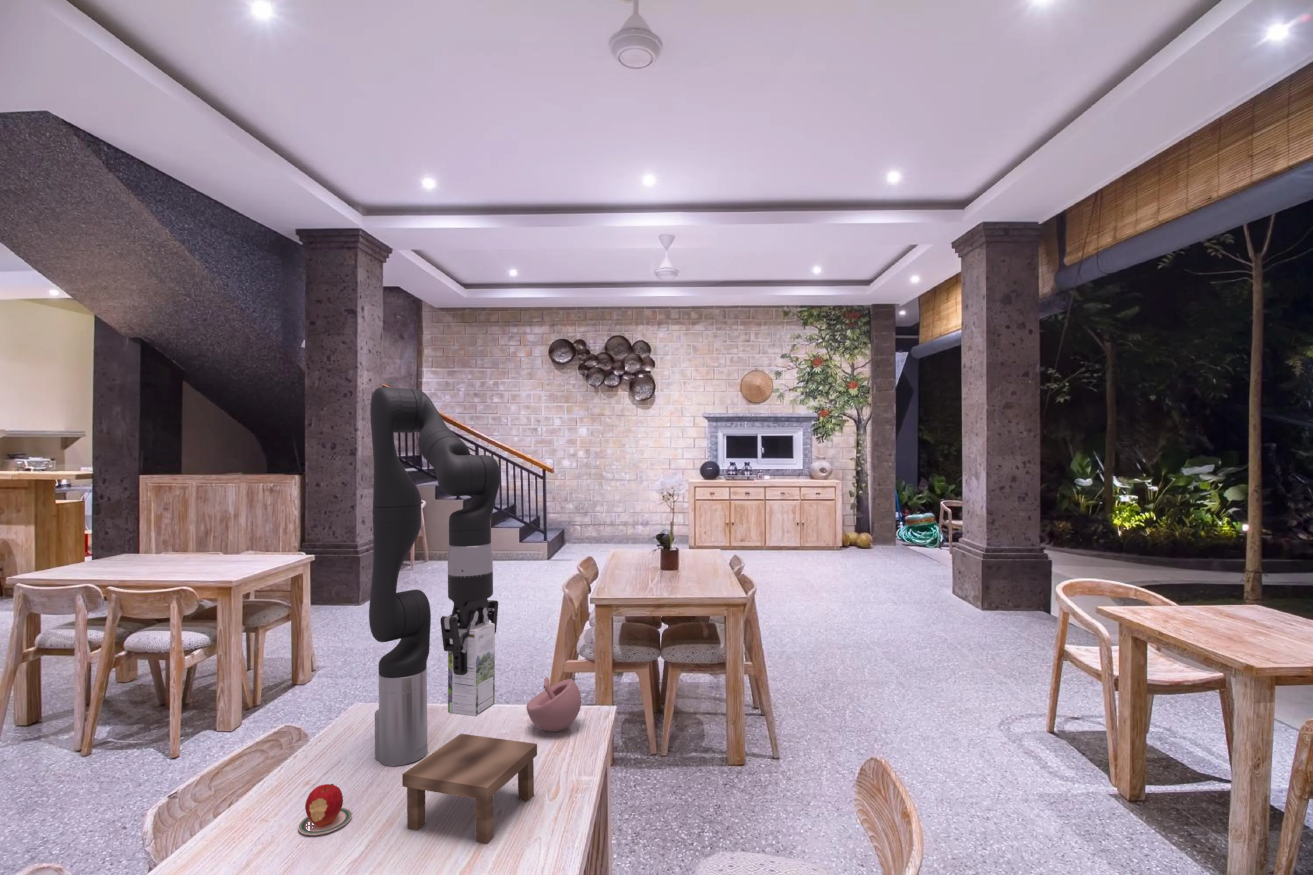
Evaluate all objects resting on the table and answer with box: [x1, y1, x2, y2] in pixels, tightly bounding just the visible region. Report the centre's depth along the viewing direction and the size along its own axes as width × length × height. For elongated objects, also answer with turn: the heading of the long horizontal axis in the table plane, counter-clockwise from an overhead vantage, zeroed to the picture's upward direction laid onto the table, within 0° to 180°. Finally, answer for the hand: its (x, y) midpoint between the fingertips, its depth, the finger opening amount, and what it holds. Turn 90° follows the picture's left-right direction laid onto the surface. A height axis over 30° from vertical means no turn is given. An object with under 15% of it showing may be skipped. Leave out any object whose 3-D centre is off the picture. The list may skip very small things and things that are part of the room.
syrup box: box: [447, 621, 496, 717], centre depth 111 cm, size 6×6×14 cm
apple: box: [298, 783, 353, 836], centre depth 108 cm, size 8×8×6 cm
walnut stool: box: [401, 733, 538, 845], centre depth 110 cm, size 16×16×9 cm
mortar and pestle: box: [526, 677, 582, 733], centre depth 143 cm, size 12×12×11 cm
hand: (471, 667), depth 111 cm, fingers closed on syrup box, 5 cm apart
